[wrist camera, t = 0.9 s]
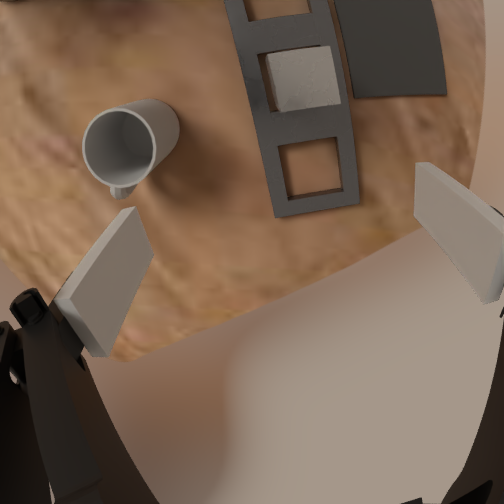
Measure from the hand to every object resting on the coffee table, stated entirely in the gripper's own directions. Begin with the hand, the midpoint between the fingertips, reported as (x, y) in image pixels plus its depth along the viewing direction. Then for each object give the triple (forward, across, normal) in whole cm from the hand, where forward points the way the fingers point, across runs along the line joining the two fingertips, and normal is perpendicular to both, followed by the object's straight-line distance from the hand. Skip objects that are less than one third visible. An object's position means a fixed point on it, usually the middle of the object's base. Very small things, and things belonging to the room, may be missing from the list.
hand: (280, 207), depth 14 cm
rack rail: (+21, +4, +5) cm, 22 cm away
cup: (+21, -13, +2) cm, 25 cm away
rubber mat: (+21, +16, +8) cm, 27 cm away
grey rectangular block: (+21, +4, +5) cm, 22 cm away
